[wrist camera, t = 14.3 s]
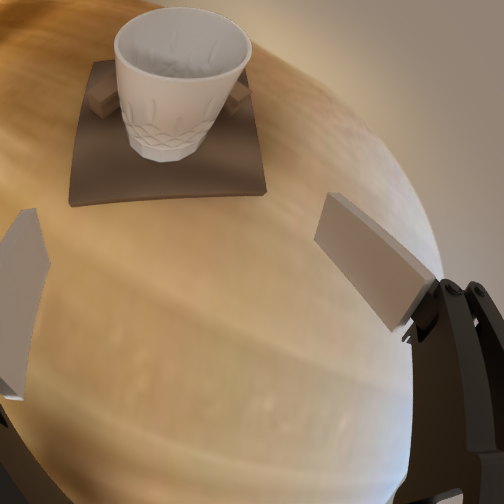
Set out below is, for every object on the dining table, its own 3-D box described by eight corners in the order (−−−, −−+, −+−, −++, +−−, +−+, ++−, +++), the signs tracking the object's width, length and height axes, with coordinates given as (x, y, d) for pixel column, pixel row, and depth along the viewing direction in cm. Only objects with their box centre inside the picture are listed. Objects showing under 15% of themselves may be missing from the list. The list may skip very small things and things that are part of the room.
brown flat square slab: (262, 195, 24) (279, 180, 20) (71, 207, 18) (59, 191, 15) (241, 69, 25) (251, 48, 22) (94, 68, 20) (92, 45, 17)
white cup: (156, 83, 21) (171, -4, 11) (227, 120, 23) (272, 39, 13) (101, 143, 18) (84, 51, 9) (180, 187, 20) (207, 104, 11)
